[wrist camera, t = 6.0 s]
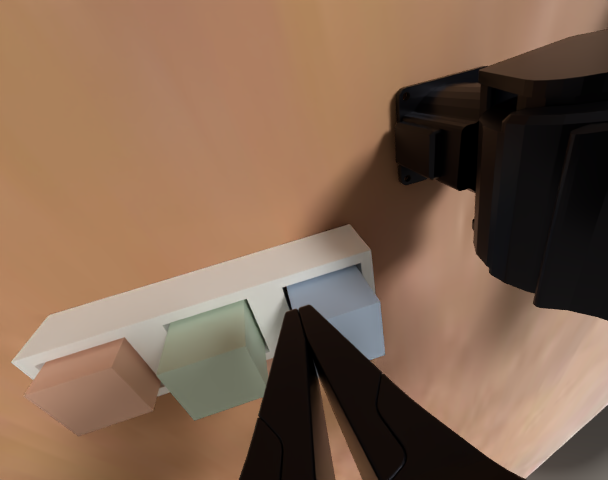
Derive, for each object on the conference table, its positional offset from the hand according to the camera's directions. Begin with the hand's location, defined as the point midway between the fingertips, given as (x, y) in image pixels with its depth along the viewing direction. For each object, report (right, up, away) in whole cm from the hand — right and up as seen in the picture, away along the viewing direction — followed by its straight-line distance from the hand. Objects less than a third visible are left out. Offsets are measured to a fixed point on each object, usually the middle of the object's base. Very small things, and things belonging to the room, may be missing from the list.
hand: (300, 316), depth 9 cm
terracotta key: (-14, -5, +13) cm, 20 cm away
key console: (-7, -3, +14) cm, 16 cm away
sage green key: (-6, -4, +12) cm, 14 cm away
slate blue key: (+2, -1, +12) cm, 13 cm away
